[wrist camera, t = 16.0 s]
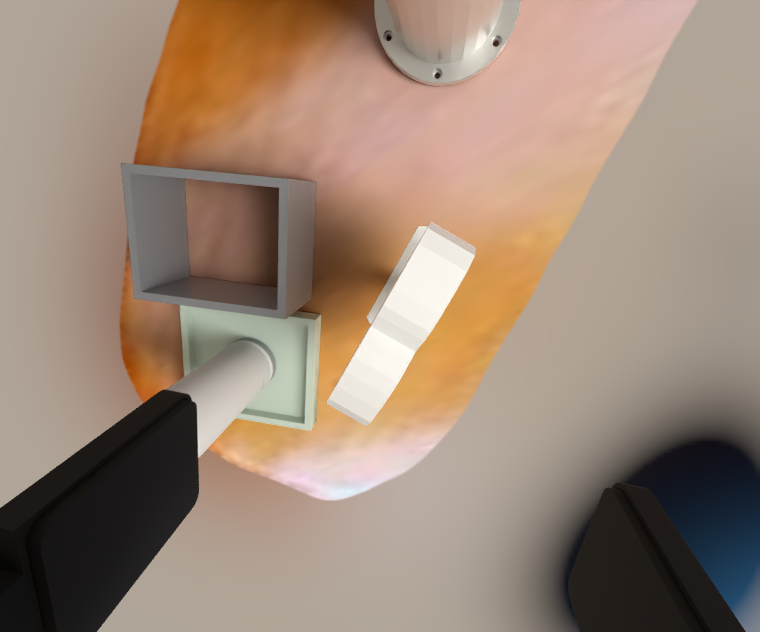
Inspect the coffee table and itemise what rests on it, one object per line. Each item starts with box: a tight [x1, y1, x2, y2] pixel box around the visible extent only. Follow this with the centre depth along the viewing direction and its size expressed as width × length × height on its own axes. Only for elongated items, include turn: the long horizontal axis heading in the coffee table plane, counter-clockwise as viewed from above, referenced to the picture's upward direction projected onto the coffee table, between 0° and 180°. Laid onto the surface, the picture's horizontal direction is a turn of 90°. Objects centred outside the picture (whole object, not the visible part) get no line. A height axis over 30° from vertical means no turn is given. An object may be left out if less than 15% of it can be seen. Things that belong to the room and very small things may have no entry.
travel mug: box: [166, 338, 276, 458], centre depth 38 cm, size 6×7×20 cm
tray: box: [180, 305, 321, 431], centre depth 48 cm, size 14×16×2 cm
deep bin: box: [121, 163, 316, 319], centre depth 41 cm, size 13×16×8 cm
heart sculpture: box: [327, 222, 475, 426], centre depth 35 cm, size 16×5×18 cm, turn 151°
